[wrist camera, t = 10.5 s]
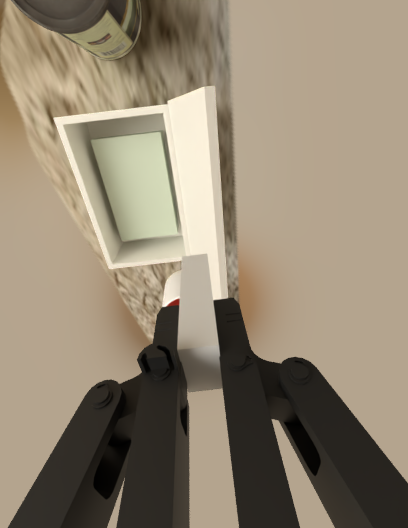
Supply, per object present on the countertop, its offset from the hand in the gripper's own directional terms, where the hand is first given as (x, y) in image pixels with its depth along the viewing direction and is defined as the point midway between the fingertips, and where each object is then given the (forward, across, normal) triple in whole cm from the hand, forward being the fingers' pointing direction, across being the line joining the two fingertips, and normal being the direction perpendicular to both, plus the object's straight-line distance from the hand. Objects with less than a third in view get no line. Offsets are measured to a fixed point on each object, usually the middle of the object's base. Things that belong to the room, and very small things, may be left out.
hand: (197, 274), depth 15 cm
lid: (+16, 0, -2) cm, 16 cm away
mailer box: (+32, -9, -2) cm, 33 cm away
